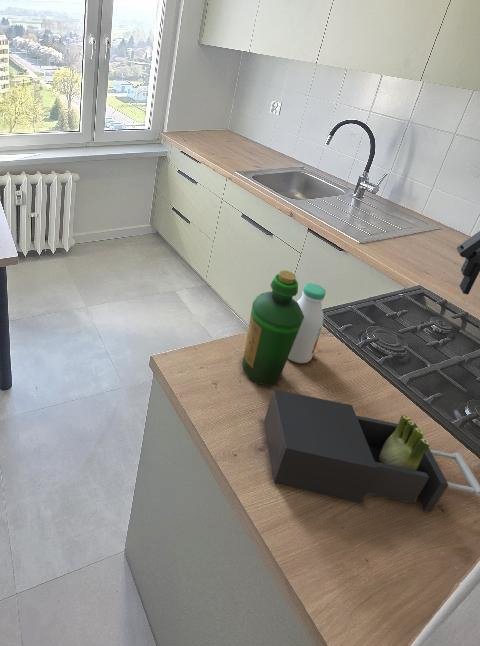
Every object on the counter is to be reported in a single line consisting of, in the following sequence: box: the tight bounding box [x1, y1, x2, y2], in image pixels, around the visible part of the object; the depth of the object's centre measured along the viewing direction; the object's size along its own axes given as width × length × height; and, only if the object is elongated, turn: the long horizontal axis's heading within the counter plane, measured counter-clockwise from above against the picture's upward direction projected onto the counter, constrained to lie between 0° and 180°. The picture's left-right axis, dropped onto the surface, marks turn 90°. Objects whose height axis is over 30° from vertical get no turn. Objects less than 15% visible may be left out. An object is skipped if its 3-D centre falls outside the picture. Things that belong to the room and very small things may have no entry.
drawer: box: [356, 414, 480, 513], centre depth 76 cm, size 21×11×8 cm, turn 78°
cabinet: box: [263, 389, 377, 504], centre depth 79 cm, size 15×13×10 cm
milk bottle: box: [287, 282, 326, 364], centre depth 102 cm, size 8×8×20 cm
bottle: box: [242, 270, 304, 386], centre depth 94 cm, size 11×11×28 cm
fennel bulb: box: [379, 413, 431, 471], centre depth 75 cm, size 6×5×12 cm
